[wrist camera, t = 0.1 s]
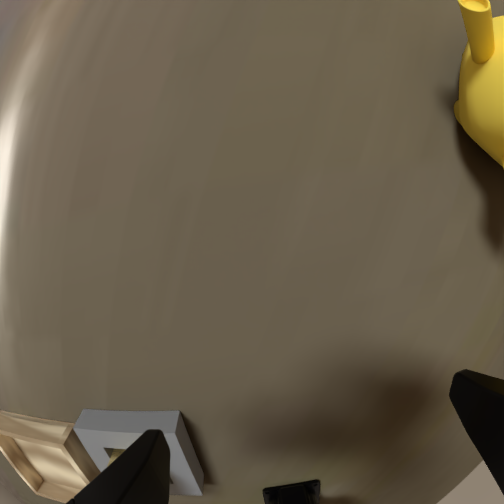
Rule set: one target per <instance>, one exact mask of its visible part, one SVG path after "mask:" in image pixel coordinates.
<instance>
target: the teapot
mask: <svg viewBox="0 0 504 504" xmlns="http://www.w3.org/2000/svg"><path fill="white" fill-rule="evenodd" d="M458 2H459V6H460V9H461V13H462V16H463V20H464V24H465V28H466V32H467V37H468V42H467V45H466V48H465V51H464V53H463V54H462V61H461V67H460V77H459V100H457V101H456V102H455V104H454V114H455V117H456V119H457V121H458V122H459V123H460V124H461V125H462V127H463V129H464V130H465V131H466V133H467V134H468V135H469V136H470V137H471V138H472V139H473V140H474V141H475V142H476V143H477V144H478V145H479V146H480V147H481V148H482V149H483V150H484V151H485V152H486V153H488V154H489V155H490V156H491V157H492V158H493V159H494V160H495V161H496V162H498V163H499V164H500V165H501V166H502V167H503V168H504V16H499V17H495V18H492V13H491V6H490V2H489V0H458Z"/></svg>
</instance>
